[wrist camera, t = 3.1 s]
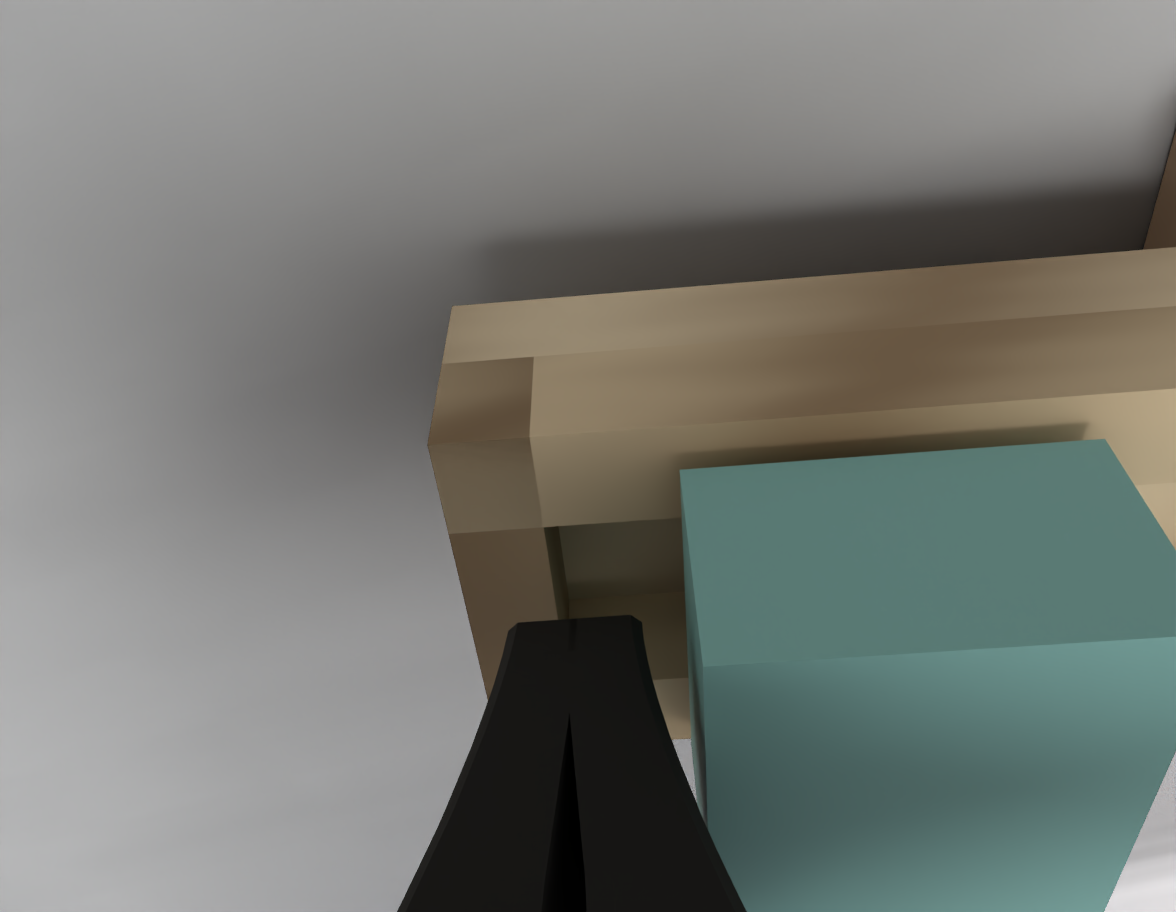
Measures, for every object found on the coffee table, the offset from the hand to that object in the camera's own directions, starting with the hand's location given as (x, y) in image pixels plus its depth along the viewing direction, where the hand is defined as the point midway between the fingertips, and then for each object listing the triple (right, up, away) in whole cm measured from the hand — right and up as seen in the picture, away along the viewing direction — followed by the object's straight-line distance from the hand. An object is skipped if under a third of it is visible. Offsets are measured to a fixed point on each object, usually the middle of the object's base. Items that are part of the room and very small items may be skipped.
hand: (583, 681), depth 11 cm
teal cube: (+3, +2, +1) cm, 4 cm away
